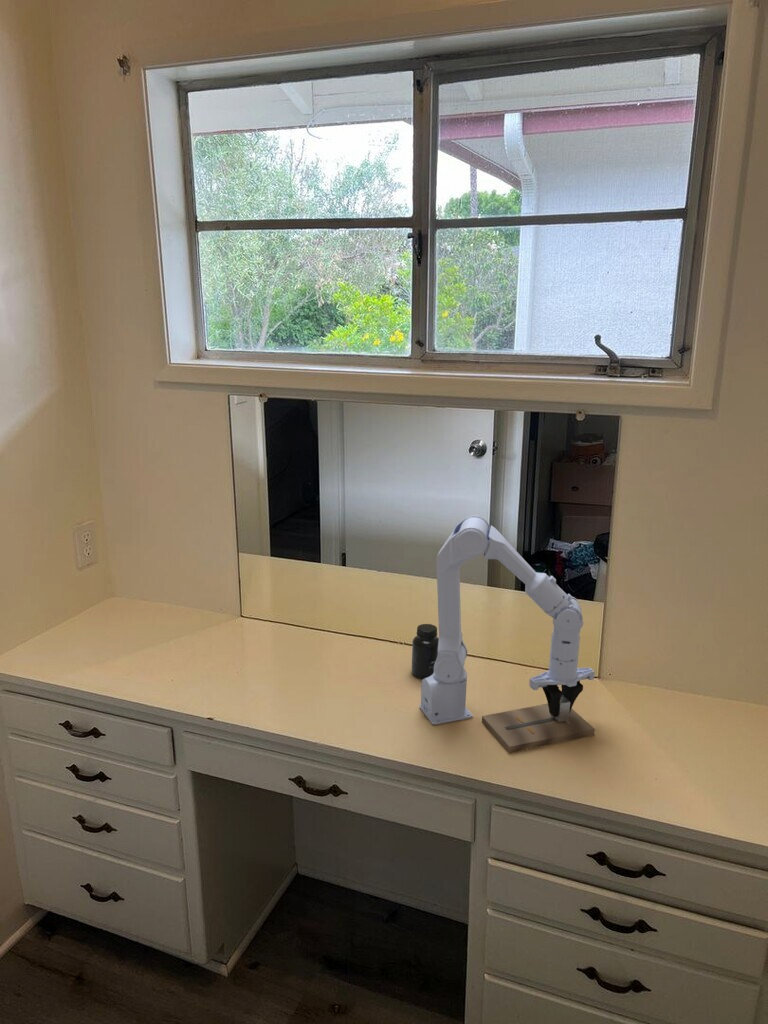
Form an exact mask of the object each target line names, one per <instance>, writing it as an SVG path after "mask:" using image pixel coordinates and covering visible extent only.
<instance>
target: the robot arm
mask: <svg viewBox="0 0 768 1024" xmlns="http://www.w3.org/2000/svg"><path fill="white" fill-rule="evenodd" d="M482 555H483V558H482V559H484V560H497V561H499V562H500V563H501V564H502V565H503V566H504V567H505V568H506V569H507V570H508V571H510V572H511V573H512V574H513V575H514V576H516V577H517V578H518V579H519V580H520V581H521V582H522V583H523V584H524V585H525V586H524V587H525V588H524V591H525V595H527V596H528V597H529V598H530V599H531V600H532V602H534V603H535V604H536V605H537V606H538V607H539V608H540V609H541V610H542V611H543V612H544V613H545V614H546V615H548V616H550V617H551V618H552V624H553V629H552V632H551V639H550V640H551V641H550V652H549V664H548V670H546V671H545V672H541V673H540V674H538V675H535V676H533V677H529V684H528V685H529V687H530V688H531V689H532V690H533V691H538V690H539V689H540V688H542V690H543V693H544V695H545V697H546V700H547V701H546V702H547V704H548V707H549V713H550V714H551V715H552V716H553V717H557V716H558V711H559V703H560V699H561V696H562V695H563V696H564V697H566V698H567V699H568V700H569V701H570V711H571V709H573V706H574V703H575V702H576V700H577V698H578V697H579V695H581V693H582V692H583V691H584V685H583V684H582V683H581V681H583V680H589V681H592V680H593V681H594V679H595V673H596V672H595V670H593V669H592V668H591V667H589V666H588V667H578V666H579V665H578V664H579V656H580V655H579V654H580V653H579V652H580V643H581V642H580V641H581V635H580V633H581V630H582V628H583V625H584V621H583V613H582V607H581V605H580V602H579V601H578V599H577V598H576V597H574V596H572V595H571V594H570V593H566V592H565V591H564V590H563V589H562V588H561V587H560V586H559V585H558V584H557V579H556V578H555V577H554V576H553V575H550V576H549V575H548V574H547V573H546V572H537V571H536V570H535V569H534V568H533V567H532V566H531V565H530V564H529V563H528V562H527V561H526V560H525V559H524V557H522V556H521V554H520V553H519V552H518V551H517V550H516V549H515V547H514V546H513V545H511V543H509V541H508V540H507V539H506V538H505V536H503V535H502V534H501V533H500V531H499V530H498V529H497V528H496V527H494V526H493V525H492V524H491V525H490V524H489V522H488V521H487V520H486V519H485V518H484V517H482V516H481V515H480V516H479V515H470V516H467V517H466V518H464V519H463V520H461V521H459V523H457V524H456V525H455V527H454V528H453V530H452V532H451V533H450V535H449V536H448V538H447V539H446V540H445V542H444V544H443V545H442V547H441V548H440V549H439V551H438V553H437V556H436V560H435V561H436V584H437V585H436V586H437V609H438V610H437V613H438V615H437V616H438V617H437V618H438V638H439V642H438V656H437V659H436V662H435V664H434V673H433V674H432V675H431V676H430V677H427V678H424V679H421V684H420V686H421V687H420V704H419V708H420V710H421V712H423V714H424V715H425V717H426V718H427V719H428V720H429V722H430V724H432V725H434V726H435V725H441V724H446V723H450V722H457V721H461V720H467V719H471V718H473V716H474V715H473V714H472V713H471V711H470V710H469V709H468V708H467V707H466V701H467V681H468V680H467V678H468V673H467V671H466V669H465V662H466V659H467V656H468V649H467V646H466V645H465V643H464V640H463V632H462V616H461V615H462V614H461V612H462V611H461V577H460V573H461V572H460V567H461V566H462V565H463V564H464V563H466V562H468V561H469V560H472V559H475V558H478V557H480V556H482ZM559 686H561V687H559ZM560 688H561V690H560ZM570 711H569V714H570Z"/></svg>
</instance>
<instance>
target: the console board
mask: <svg viewBox="0 0 768 1024" xmlns="http://www.w3.org/2000/svg"><path fill="white" fill-rule="evenodd" d="M481 723H482V725H484V727H486V729H487V730H488V732H490V734H491V735H492V736H493V737H494V738H495V739H496V740H497V741H498V742H499V744H500V745H501V746H502V747H503V748H504V749H505V750H506V751H507V753H508V754H513V753H517V752H518V753H519V752H522V750H523V751H526V750H527V749H528V750H530V749H537V748H540V747H541V746H542V747H545V745H546V746H550V745H555V744H560V743H565V742H568V741H574V740H579V739H583V738H588V737H593V736H595V731H596V729H595V727H593V726H592V725H591V724H590V723H589V722H588V721H586V719H584V718H583V717H582V716H581V715H580V714H579V713H578V712H576V710H574V709H573V708H572V709H571V711H570V714H569V720H568V721H563V722H558V721H557V720H556V719H555V718H554V717H553V716H552V715H551V714H550V713H549V707H548V703H544V704H538V705H532V706H527V707H524V708H523V707H522V708H518V709H512V710H507V711H501V712H496V713H492V714H491V713H490V714H486V715H482V716H481Z"/></svg>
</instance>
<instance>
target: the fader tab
mask: <svg viewBox="0 0 768 1024" xmlns="http://www.w3.org/2000/svg"><path fill="white" fill-rule="evenodd" d="M569 711H570V701H569V700H568V699H567V698H566V697H564V696H563V695H562V696H561V699H560V703H559V711H558V716H557V717H554V718H555V719H556V720H557V721H558V722H563V721H568V720H569Z"/></svg>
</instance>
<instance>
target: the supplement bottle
mask: <svg viewBox="0 0 768 1024" xmlns="http://www.w3.org/2000/svg"><path fill="white" fill-rule="evenodd" d="M438 642H439V636H438V627H437V626H436V625H434V624H431V623H422V624H420V625H419V624H418V625H417V627H416V635H415V636H414V637H413V639H412V642H411V643H412V644H411V645H412V646H411V673H412V675H413V676H414V677H416V678H417V679H420V680H423V679H424V678H427V677H430V676H431V675H432V674H433V673H434V664H435V662H436V659H437V656H438Z"/></svg>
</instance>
